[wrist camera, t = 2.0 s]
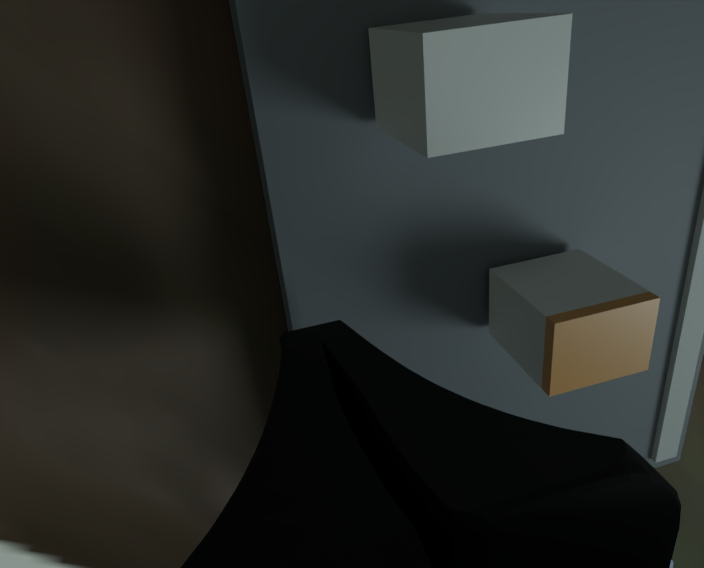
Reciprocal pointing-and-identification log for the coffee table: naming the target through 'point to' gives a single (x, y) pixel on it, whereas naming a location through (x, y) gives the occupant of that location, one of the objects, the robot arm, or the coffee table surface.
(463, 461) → the robot arm
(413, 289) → the breaker board
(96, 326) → the coffee table surface
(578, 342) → the block
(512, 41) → the block
